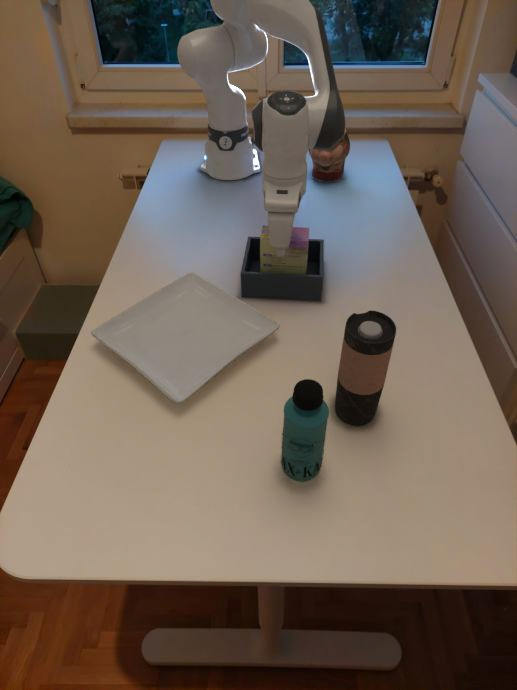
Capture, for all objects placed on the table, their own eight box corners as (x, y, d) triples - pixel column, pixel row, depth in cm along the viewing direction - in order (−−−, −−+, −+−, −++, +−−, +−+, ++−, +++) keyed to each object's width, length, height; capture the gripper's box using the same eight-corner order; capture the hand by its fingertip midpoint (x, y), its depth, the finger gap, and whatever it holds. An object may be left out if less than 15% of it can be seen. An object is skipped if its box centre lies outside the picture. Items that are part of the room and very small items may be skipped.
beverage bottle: (277, 454, 82) (279, 372, 68) (318, 451, 82) (328, 368, 68) (282, 490, 77) (285, 409, 63) (325, 487, 78) (337, 405, 64)
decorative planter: (308, 158, 162) (311, 114, 152) (347, 160, 161) (351, 115, 151) (305, 187, 148) (307, 140, 138) (346, 189, 147) (352, 142, 137)
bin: (248, 259, 122) (248, 236, 117) (321, 263, 120) (323, 239, 116) (241, 297, 112) (240, 273, 107) (321, 301, 110) (323, 277, 105)
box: (306, 270, 117) (309, 226, 109) (306, 285, 113) (308, 240, 105) (262, 268, 118) (261, 224, 110) (260, 283, 114) (259, 238, 106)
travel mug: (366, 434, 85) (385, 350, 71) (325, 415, 88) (336, 331, 74) (383, 404, 89) (404, 320, 75) (344, 387, 92) (357, 303, 78)
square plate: (92, 344, 101) (87, 330, 99) (193, 283, 116) (191, 269, 113) (180, 416, 88) (177, 402, 85) (282, 337, 102) (282, 322, 99)
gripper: (272, 158, 107) (271, 216, 117) (263, 208, 93) (263, 269, 102) (302, 160, 107) (299, 217, 116) (297, 209, 92) (294, 270, 102)
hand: (282, 242), depth 109 cm, fingers open, 8 cm apart
